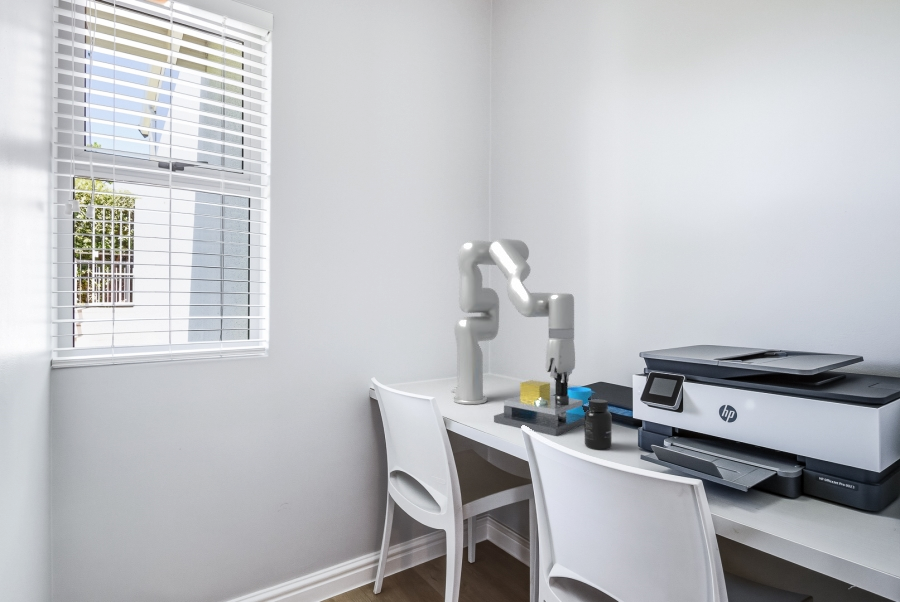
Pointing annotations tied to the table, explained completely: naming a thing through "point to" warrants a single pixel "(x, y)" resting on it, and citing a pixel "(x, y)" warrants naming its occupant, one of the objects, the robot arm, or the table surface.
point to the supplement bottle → (598, 425)
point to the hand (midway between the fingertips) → (561, 395)
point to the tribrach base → (540, 420)
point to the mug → (579, 398)
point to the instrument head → (541, 399)
